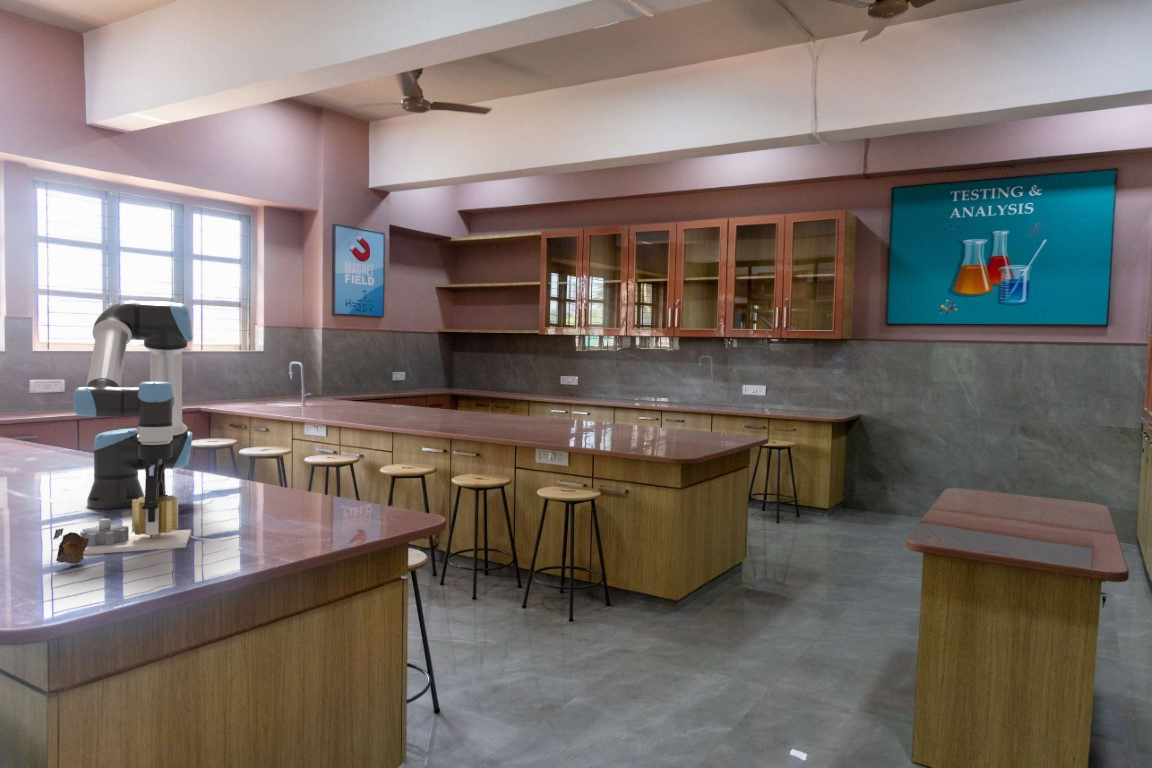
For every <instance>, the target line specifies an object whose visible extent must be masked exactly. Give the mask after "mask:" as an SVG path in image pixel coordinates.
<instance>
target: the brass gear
mask: <svg viewBox="0 0 1152 768" xmlns="http://www.w3.org/2000/svg"><path fill="white" fill-rule="evenodd" d="M150 503H153V502H150ZM144 504H145V496H144V497H140V498H139V499H134V500H132V507H131V533H135V534H137V535H141V534H146V509H142V506H144ZM157 508H159V527H158V534H159V533H170V532H172V531H175V530H178V529H179V497H176V495H168V496H162V495H158V507H157Z"/></svg>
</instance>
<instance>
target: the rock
mask: <svg viewBox="0 0 1152 768" xmlns="http://www.w3.org/2000/svg"><path fill="white" fill-rule="evenodd" d="M63 532H64V528H58V529H55V533H54V536H53V538H52V539H53V540H56V539H58V538H59V537H60V536H62V540H61V541H60V543H59V545H58V551H57V555H56V562H58V563H60V564H62V563H67V564H70V565H73V564H74V565H76V564H77V565H78V564H80V563H81V562H83V560H84V559H85V558H84V555H85V554H83V552H84V551H85V548H86V547H87V543H88V540H89V538H86V539H85V538H83V537H81V536H80V533H77V532H68V533H67V534H64V535H63Z"/></svg>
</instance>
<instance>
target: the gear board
mask: <svg viewBox="0 0 1152 768" xmlns="http://www.w3.org/2000/svg"><path fill="white" fill-rule="evenodd" d="M129 531H130V530H129V526H128V525H121V524H111V518H100V519H98V525H95V526H94V527H85V528H83V529H82V531H79V535H80V536H81V537H83V538H85V539H86V538H89V540H88V543H87V547H86V548H85V551H84V552H83V554H84V555H95V554H97V555H98V554H110V553H122V552H140V551H141V552H142V551H153V550H155V549H156V550H165V549H167V550H169V549H170V550H171V549H181V548H182V549H183V548H186V547H187V545H188V543H189V540H190V538H191V536H192V529H179V530H178V529H177V530H172V532H170V533H159V534H156V535H146V534H141V535H137V534H135V532H130V533H129ZM156 550H155V551H156Z"/></svg>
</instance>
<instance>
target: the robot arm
mask: <svg viewBox="0 0 1152 768" xmlns="http://www.w3.org/2000/svg"><path fill="white" fill-rule="evenodd" d="M190 316H191V315H190V311H189V307H188V306H187V305H186V304H185V303H180V302H172V301H149V300H147V301H145V300H125V301H120V302H117V303H115V304H114V305H111V306H110V307H108V308H106V310H104V311H103V312H102V313H101V314H100V315H99V316H98V317H97V319H96V320H95V322H94V324H93V328H92V337H93V339H94V345H93V350H92V355H91V360H90V365H89V366H90V367H89V371H88V376H87V381H86V386H81V387H76V388H75V390H74V391H73V403H72V404H73V411H74V413H75V414H74V415H76V416H79V417H92V418H96V417H102V418H103V417H138V428H135V427H134V428H133V427H132V428H121V429H116V430H115V429H113V430H109V431H104V432H100V433H98V434H96V435H95V437H94V443H93V444H94V445H93V449H92V450H93V459H94V460H93V477H94V478H93V483H92V486H91V489H90V491H89V493H88V497H87V499H86V500H87V501H86V504H87V505H86V506H87V507H88V508H90V509H94V510H95V509H96V510H97V509H98V510H112V509H113V510H114V509H124V508H130V507H131V508H132V500H134V499H139V498H140V497H145V504H144V506H142V509H146V535H156V534H158V527H159V508H157V507H158V495H162V496H169V495H168V494H166V493H167V492H166V481H165V480H166V477H165V476H166V473H165V471H166V470H174V469H182V468H185V467H187V466H188V465H189V461H190V457H191V450H192V441H193V432H192V431H188V425H186V424H185V423H184V422H183V363H182V361H183V353H182V352H183V351H184V350H186V349H187V347H188V343H190V342H192V341H193V330H192V329H193V328H192V321H191V317H190ZM131 340H137V341H143V346H144V347H145V349H147V350H148V351H149V370H150V371H149V372H150V373H149V375H150V376H149V379H150V380H149V381H142V382H140V383H139V384H138V386H137V387H130V386H129V387H127V386H126V387H125V386H123V387H122V386H121V385H122V381H123V380H122V379H123V374H124V373H123V370H124V367H125V366H124V365H125V358H126V350H127V344H129V343H130V342H131ZM142 470H143V471H144V470H145V486H144V491H143V488H142V485H141V482H140V480H139V471H142ZM150 502H153V503H150Z"/></svg>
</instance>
